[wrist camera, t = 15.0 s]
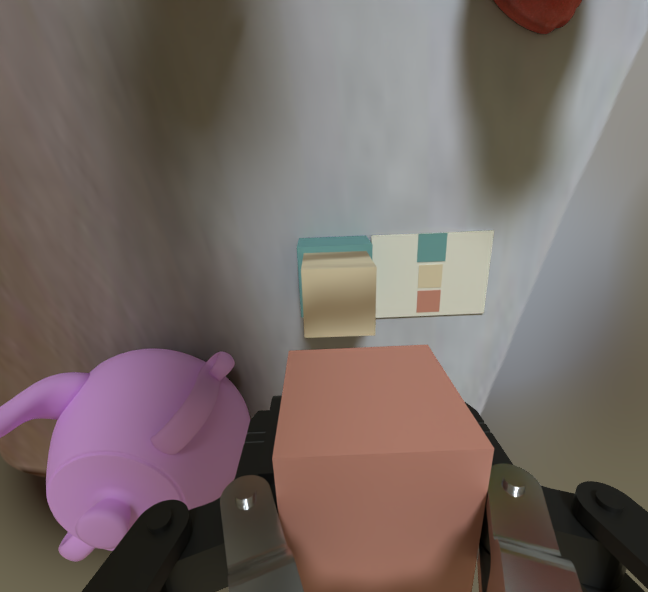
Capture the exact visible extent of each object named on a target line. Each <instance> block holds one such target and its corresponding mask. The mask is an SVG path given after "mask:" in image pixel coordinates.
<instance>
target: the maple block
mask: <svg viewBox="0 0 648 592" xmlns="http://www.w3.org/2000/svg"><path fill="white" fill-rule="evenodd" d="M376 274H377V267H376V265H375V264H374V262H373V261H372V259H371V257H370V256H369V254H368V253H367V251H351V252H322V253H304V254H303V260H302V267H301V278H302V297H303V316H304V334H305V338H316V337H344V336H372V335H375V320H376Z"/></svg>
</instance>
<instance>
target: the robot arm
mask: <svg viewBox="0 0 648 592" xmlns="http://www.w3.org/2000/svg"><path fill="white" fill-rule="evenodd" d="M281 399H282V396H273V397H272V402H271V407H270V410H267V411H258V412H257V413H256V414H255V416H254V417H253V418H252V419H251V420H250V423H249V427H248V431H247V434H246V438H245V444H244V446H243V449H242V453H241V457H240V461H239V464H238V468H237V472H236V475H235V479H234V481H232V482H231V483H230V484H229V485H227V487H226V488H225V489H224V491H223V492H222V495H221V497H220V498H218V499H216V500H215V501H213V502H210V503H208V504H205V505H202V506H199V507H196V508H193V509H190V510H188V507H187V506H186V504H185V503H183V502H182V501H179V500H165V501H162V502H159V503H157V504H155V505H153V506H151V507H150V508H148V509H147V510H146V511H144V512H143V513H142V514H141V515H140V517H139V518H138V519H137V520H136V521H135V523H134V524H133V525H132V527H131V528H130V529H129V531H128V532H127V533H126V535H125V536H124V537H123V538H122V540H121V541H120V542H119V544H118V545H117V546H116V548H115V549H114V550H113V552H112V553H111V554H110V555H109V557H108V558H107V559H106V561H105V562H104V563H103V565H102V566H101V567H100V569H99V570H98V571H97V572H96V574H95V575H94V576H93V578H92V579H91V580H90V581H89V583H88V584H87V585H86V587H85V588H84V589H83V591H82V592H216V591H218V590H221V589H223V588H226V587H229V592H304V590H303V586H302V583H301V580H300V576H299V573H298V570H297V566H296V563H295V560H294V557H293V554H292V551H291V549H288V547H287V544H286V540H285V537H284V533H283V530H282V527H281V523H280V520H279V515H278V506H277V497H276V488H275V479H274V470H273V461H272V457H273V450H274V444H275V437H276V431H277V425H278V418H279V412H280V405H281ZM465 404H466V405H467V407H468V408H469V410H470V412H471V413H472V415H473V416H474V418H475V419H476V421H477V422H478V424H479V425H480V427H481V429H482V430H483V432H484V433H485V435H486V436H487V438H488V439H489V441H490V443H491V444H492V446H493V447H494V454H493V460H492V466H491V473H490V479H489V485H488V491H487V498H486V504H485V510H484V517H483V523H482V529H481V535H480V542H479V548H478V554H477V565H478V581H479V592H644V590H643V589H642V588H641V587H640V586H638V584H637V583H635V581H633V580H632V579H631V578H630V577H629V576H628V575H627V574H626V573H625V572H626V569H628V570H629V571H630V572H631V573H632V574H633V575H634V576H635V577H636V578H637V579H638V580H639V581H640V582H641V583H642V584H643V585H644V586H645V587H646V588H647V589H648V512H647V511H646V510H645V509H643V508H642V507H641V506H640V505H638V504H637V503H636V502H635V501H633V500H632V499H631V498H630V497H628V496H627V495H626V494H624V493H623V492H621V491H619V490H618V489H616V488H614V487H611V486H609V485H606V484H603V483H599V482H592V481H590V482H588V481H587V482H583V483H581V484H579V485H578V486H577V489H576V492H575V494H574V493H569V492H564V491H560V490H555V489H550V488H547V487H543V486H541V485H540V484H539V482H538V481H537V480H536V478H534V476H533V475H531V474H530V473H529V472H527V471H525V470H524V469H522V468H520V467H517V466H515V465H513V464H512V462H511V461H510V459H509V458H508V456H507V455H506V453H505V452H504V450H503V449H502V447H501V446H500V444H499V443H498V442H497V440H496V439H495V437H494V436H493V434H492V433H490V430H489V428H488V427H487V425H486V424H484V421H483V419H482V418H481V416H480V415H479V413H478V412H477V411H476V410H475V409H474V408H472V407H471V406H470V405H468V404H467V403H466V402H465Z"/></svg>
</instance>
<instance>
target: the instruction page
mask: <svg viewBox="0 0 648 592" xmlns="http://www.w3.org/2000/svg"><path fill="white" fill-rule="evenodd" d="M493 235H494V231H493V230H491V231H467V232H443V233H418V234H394V235H371V243H372V244H373V248H372V261H373V262H374V264H375V265H376V267H377V274H376V318H384V317H408V316H431V315H454V314H478V313H484V307H485V299H486V291H487V283H488V275H489V267H490V259H491V251H492V243H493Z"/></svg>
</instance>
